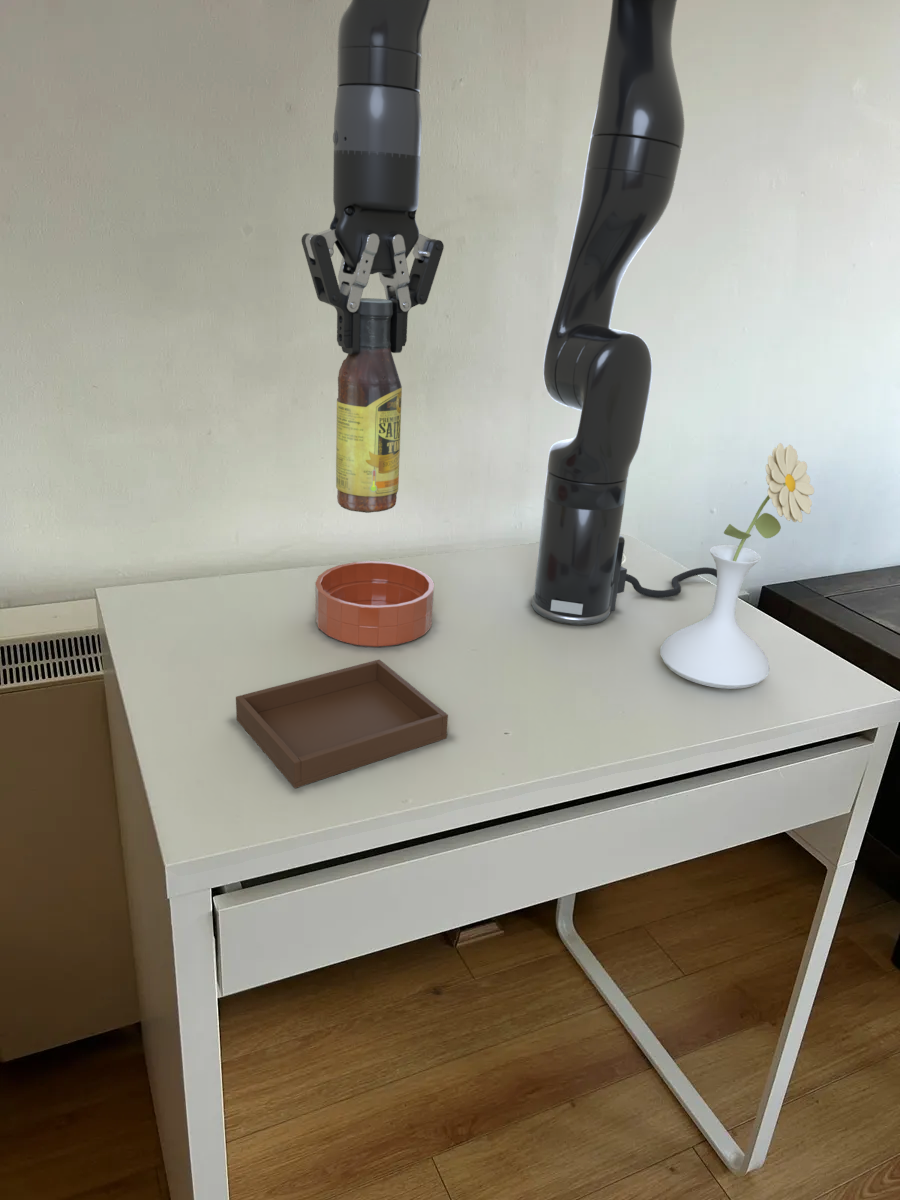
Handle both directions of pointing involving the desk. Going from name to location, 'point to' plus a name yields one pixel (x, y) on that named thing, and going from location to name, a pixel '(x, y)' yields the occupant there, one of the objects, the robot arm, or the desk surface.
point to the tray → (339, 721)
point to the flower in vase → (738, 590)
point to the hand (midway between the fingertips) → (372, 351)
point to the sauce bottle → (369, 416)
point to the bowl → (374, 603)
